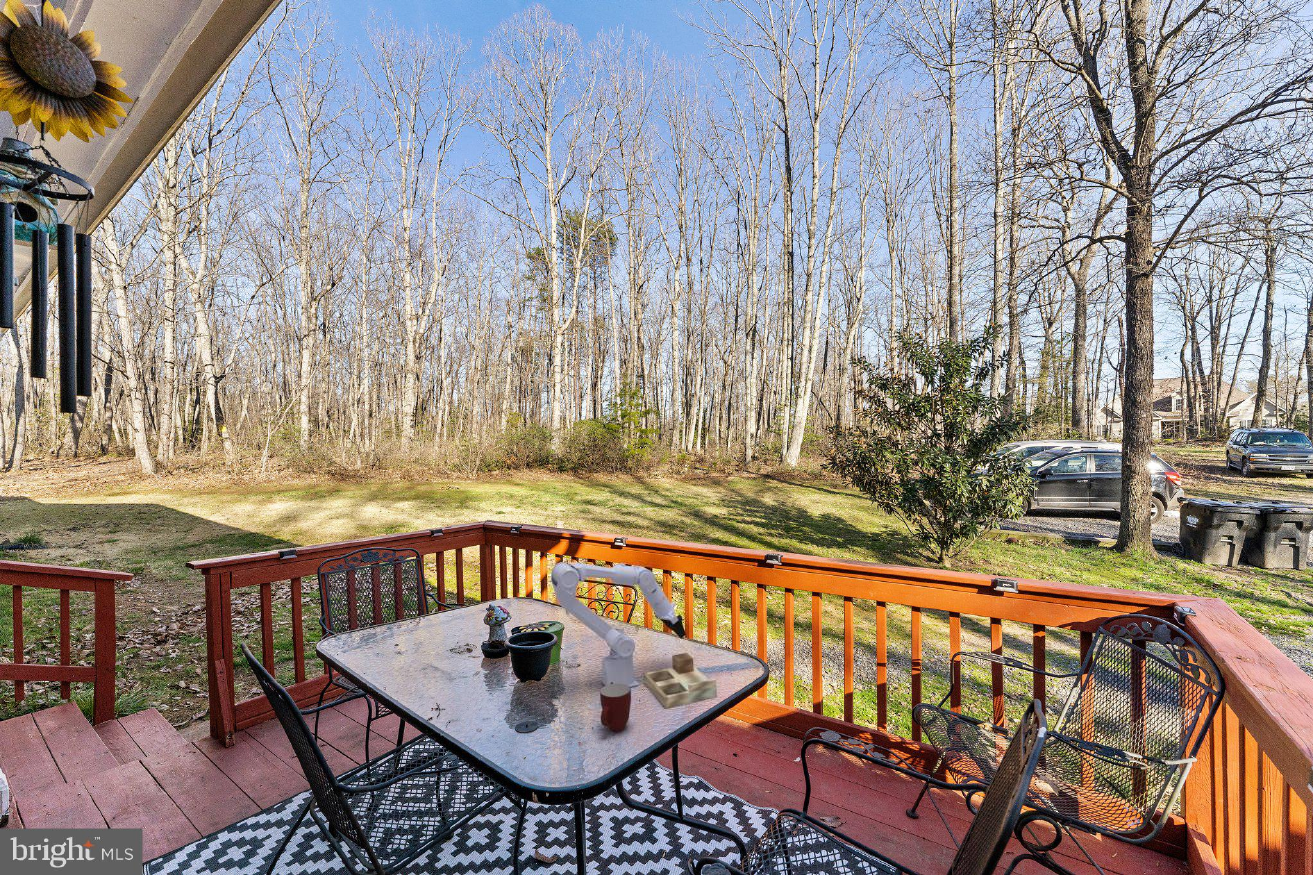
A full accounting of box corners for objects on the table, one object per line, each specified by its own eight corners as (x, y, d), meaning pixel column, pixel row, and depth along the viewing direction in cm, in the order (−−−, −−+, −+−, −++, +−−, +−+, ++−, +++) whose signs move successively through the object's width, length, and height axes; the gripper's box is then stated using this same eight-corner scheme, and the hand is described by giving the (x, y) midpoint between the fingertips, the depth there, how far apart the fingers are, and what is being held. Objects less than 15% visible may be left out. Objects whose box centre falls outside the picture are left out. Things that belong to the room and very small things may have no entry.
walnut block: (678, 674, 173) (678, 661, 173) (672, 668, 178) (672, 655, 178) (693, 671, 175) (693, 658, 175) (687, 665, 179) (686, 652, 179)
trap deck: (665, 708, 158) (664, 690, 158) (644, 683, 175) (643, 667, 175) (716, 696, 164) (716, 679, 164) (691, 673, 180) (690, 657, 180)
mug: (620, 743, 141) (618, 703, 141) (592, 738, 144) (590, 699, 144) (637, 722, 151) (635, 685, 151) (610, 718, 154) (608, 681, 154)
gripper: (675, 598, 175) (697, 631, 178) (658, 585, 189) (679, 617, 192) (658, 612, 173) (680, 646, 176) (642, 599, 187) (662, 630, 189)
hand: (678, 632), depth 184 cm, fingers open, 7 cm apart
